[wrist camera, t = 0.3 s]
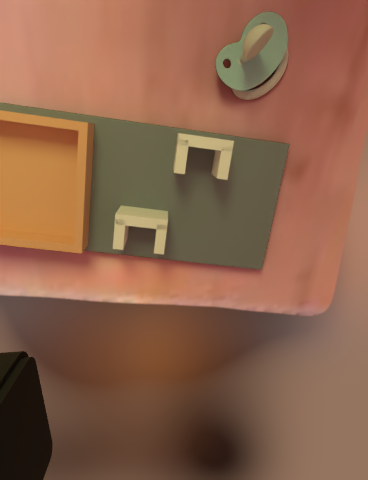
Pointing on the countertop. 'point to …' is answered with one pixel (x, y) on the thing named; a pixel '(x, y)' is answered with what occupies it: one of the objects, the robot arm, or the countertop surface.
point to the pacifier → (256, 57)
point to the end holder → (45, 182)
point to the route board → (178, 191)
